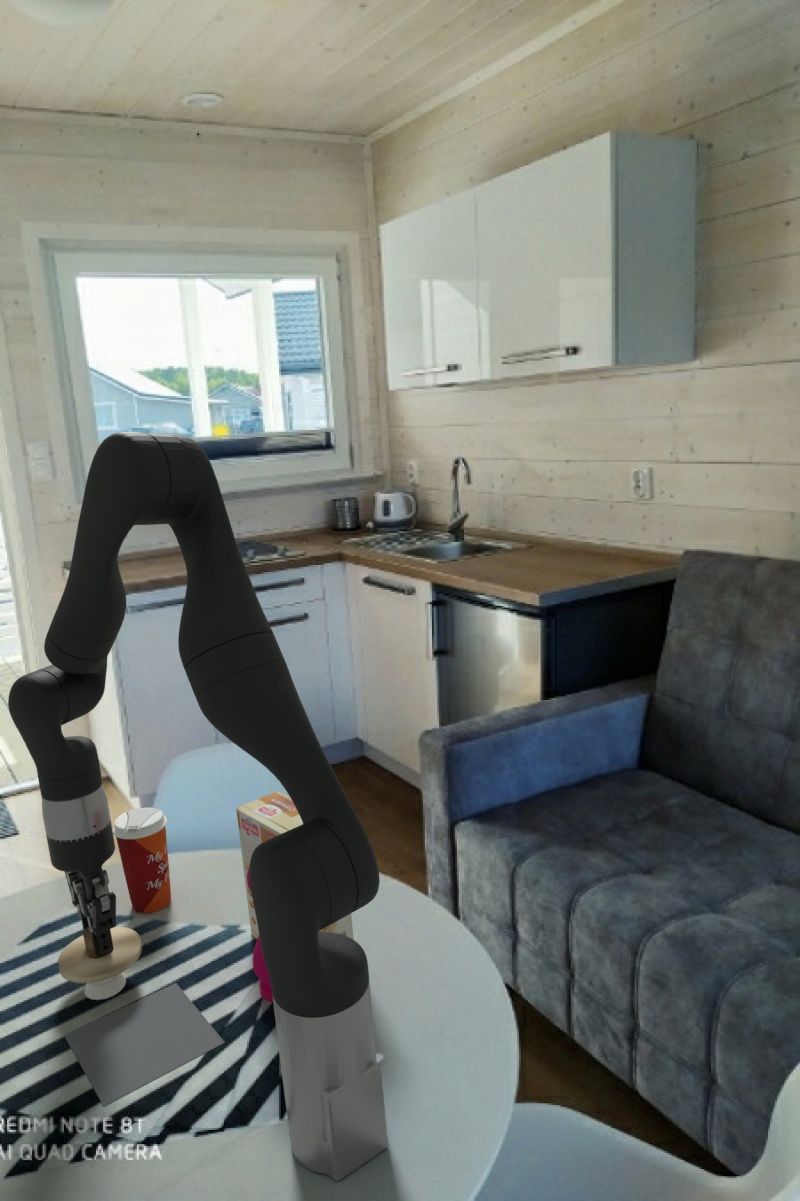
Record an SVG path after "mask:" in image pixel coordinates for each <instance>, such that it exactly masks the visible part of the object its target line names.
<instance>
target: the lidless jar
mask: <svg viewBox="0 0 800 1201" xmlns="http://www.w3.org/2000/svg"><path fill="white" fill-rule="evenodd" d="M126 982H127V980H126V978H125V975H123V973H120V974H118V975H116V976H114V977H112V978H109V979H106V980H103V981H99V982H94V983H85V984H86V985H85V988H84V996H85V997H86V998H88V999H90V1000H96V1001H99V1000H106V999H109V998H111V997H114V996H115V995H117V994H118V993H120V992H121V991H122V990H123V989H124V987H125V986H126Z"/></svg>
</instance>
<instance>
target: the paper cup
mask: <svg viewBox="0 0 800 1201" xmlns="http://www.w3.org/2000/svg"><path fill="white" fill-rule="evenodd" d="M113 824H114V826H113V827H112V830H113V836H114V837H115V838H116V843H117V846H118V851H119V856H120V860H121V864H122V868H123V874H124V877H125V878H124V879H125V882H126V883H125V884H126V886H127V887H126V888H127V891H128V895H129V899H130V902H131V906H132V910H133V911H134V912H135V913H137V914H140V915H149V914H150V915H151V914H156V913H158V912H161V911H162V910H164V909H166V908H167V907H168V906H169V905H170V904H171V901H172V891H171V890H172V888H171V878H170V876H171V875H170V864H169V855H168V854H169V852H168V844H167V843H168V842H167V840H168V839H167V829H166V827H167V826H166V825H167V824H168V819H167V817H166V816H165V815H164V813H163V811H162V810H161V809H159V808H155V807H138V808H134V809H132V810H128V811H126V812H123V813H122V814H120V815H119V816H117V818H116V819H115V821H114V823H113Z"/></svg>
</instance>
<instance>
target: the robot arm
mask: <svg viewBox="0 0 800 1201" xmlns="http://www.w3.org/2000/svg"><path fill="white" fill-rule="evenodd" d="M83 492H84V493H83V498H82V503H81V509H80V513H79V518H78V523H77V528H76V534H75V540H74V546H73V551H72V558H71V562H70V567H69V573H68V575H67V579H66V584H65V585H64V586H65V587H64V589H63V592H62V595H61V598H60V600H59V602H58V605H57V608H56V610H55V612H54V614H53V617H52V620H51V622H50V625H49V628H48V630H47V633H46V636H45V639H44V645H43V648H44V654H45V656H46V658H47V661H49V663H50V664H51V665H47V666H46V667H43V668H40V669H38V670H35V671H31V672H28V673H26V674H24V675H22V676H21V677H18V678H17V679H16V680H15V681H14V682H13V684H12V686H11V687H10V690H9V693H8V697H7V698H8V700H7V702H8V703H7V704H8V711H9V715H10V717H11V720H12V722H13V724H14V726H15V728H16V730H17V731H18V732H19V735H20V737H21V738H22V740H23V742H24V743H25V747H26V748H27V750H28V752H29V754H30V756H31V758H32V760H33V762H34V764H35V768H36V773H37V778H38V780H37V781H38V783H39V784H38V786H39V790H40V796H41V812H42V819H43V826H44V831H45V837H46V842H47V846H48V848H47V849H48V852H49V857H50V858H49V859H50V863H51V866H52V867H53V868H54V869H56V870H57V871H60V872H63V873H64V875H65V879H66V882H67V886H68V890H69V892H70V896H71V900H72V901H71V902H72V905H73V907H75V908H76V909H77V911H76V914H77V915H78V916H79V918H80V919H81V925H82V932H83V931H84V929H85V928H86V927H88V926H89V930H90V932H91V938H92V943H93V949H94V954H95V955H96V957H98V958H100V957H103V956H105V955H107V954H109V953H111V952H112V951H113V942H112V936H111V931H110V929H111V928H114V927H117V896H116V894H115V892H114V891H111V892H110V890H109V884H110V879H109V874H108V872H107V870H106V869H103V865H104V864H105V863H106V862H107V861H108V860H109V859H111V857H112V856H113V855H114V853H115V850H116V844H115V843H116V842H115V838H114V837H115V836H114V834H113V825H112V820H111V814H110V812H111V811H110V806H109V801H108V797H107V793H106V791H105V788H104V783H103V777H102V771H101V765H100V760H99V759H100V757H99V754H98V750H97V746H96V744H95V743H94V742H93V740H92V739H90V737H86V736H84V735H72V736H64V733H63V731H62V726H64V725H66V724H68V723H70V722H72V721H74V720H77V719H79V718H81V717H84V716H85V715H87V714H89V713H91V711H93V710H94V709H95V708H96V707H97V706H98V705H99V703H100V701H101V700H102V698H103V696H104V693H105V690H106V682H107V681H106V679H107V670H108V656H109V654H110V652H111V650H112V647H113V646H114V644H115V642H116V640H117V636H119V635H118V634H119V633H120V631H121V629H122V625H123V623H124V620H125V616H126V611H127V595H126V594H127V593H126V588H125V586H124V582H123V581H124V580H123V578H122V575H121V570H120V567H119V553H120V550H121V547H122V545H123V542H124V541H125V540H126V537H127V535H128V534H129V532H130V531H131V530H132V528H133V527H134V526H149V525H150V526H154V525H168V526H169V527H170V528H171V530H172V532H173V534H174V536H175V538H176V541H177V543H178V545H179V549H180V552H181V555H182V558H183V560H184V565H185V568H186V590H185V596H184V599H183V600H184V602H183V606H182V610H181V614H180V622H179V628H178V639H177V640H178V641H177V642H178V653H179V658H180V661H181V663H182V664H181V665H182V666H183V669H184V670H185V671H184V672H185V674H186V677H187V679H188V682H189V684H190V686H191V689H192V692H193V695H194V697H195V700H196V702H197V704H198V706H199V708H200V710H201V713H202V714H203V716H204V717H205V718H206V720H207V721H208V722H209V723H210V724H211V725H212V726H213V727H214V728H215V729H216V730H217V731H218V732H219V733H221V734H222V735H223V736H224V737H225V738H227V739H228V740H229V741H230V742H232V743H233V744H234V745H236V746H237V747H238V748H240V749H241V750H242V751H244V752H245V753H246V754H248V755H249V756H250V757H252V758H253V759H255V760H256V761H258V763H260V764H261V765H262V766H264V767H265V768H266V769H267V770H268V771H269V772H270V773H271V774H272V775H273V776H274V777H275V778H276V779H277V781H279V783H280V785H281V786H282V787H283V788H284V790H285V791H286V794H288V797H290V798H291V800H292V801H293V803H294V805H295V807H296V809H297V811H298V813H299V815H300V817H301V819H302V822H303V824H302V825H300V826H298V827H296V828H293V829H291V830H289V831H287V832H284V833H282V834H280V835H278V836H275V837H273V838H271V839H269V840H267V841H265V842H263V843H261V844H260V845H258V846H257V847H256V848H255V850H254V851H253V853H252V856H251V860H250V867H249V877H250V887H251V893H252V899H253V904H254V909H255V914H256V919H257V924H258V930H259V936H260V942H261V948H262V954H263V958H264V962H265V965H266V968H267V972H268V975H269V978H270V981H271V987H272V994H273V1011H274V1018H275V1026H276V1034H277V1035H276V1036H277V1044H278V1053H279V1060H280V1069H281V1075H282V1084H283V1085H282V1086H283V1093H284V1100H285V1107H286V1108H285V1110H286V1116H287V1117H286V1118H287V1124H288V1130H289V1131H288V1132H289V1140H290V1147H291V1151H292V1153H293V1155H294V1157H295V1159H296V1160H297V1162H299V1164H301V1165H302V1166H303V1167H304V1168H306V1169H307V1170H309V1171H312V1172H315V1173H319V1174H324V1175H328V1176H329V1177H331V1179H333V1181H334V1182H338V1181H341V1180H342V1179H344V1178H345V1177H347V1176H348V1175H349V1174H351V1173H352V1172H354V1171H356V1170H357V1169H358V1168H359V1167H361V1166H363V1165H364V1164H365V1163H367V1162H368V1161H370V1160H371V1159H373V1158H374V1157H376V1156H378V1154H380V1153H382V1152H383V1151H384V1150H386V1149H388V1147H389V1141H388V1129H387V1119H386V1107H385V1096H384V1095H385V1094H384V1085H383V1075H382V1066H381V1064H379V1062H378V1060H377V1050H376V1041H375V1029H374V1018H373V1007H372V1006H373V1005H372V997H371V996H372V995H371V994H372V993H371V984H370V974H369V973H370V972H369V963H368V958H367V954H366V952H365V950H364V948H363V947H362V945H360V943H358V942H357V941H356V940H355V939H354V938H353V939H354V940H353V939H351V938H349V937H347V936H345V935H341V934H337V933H331V932H319V931H320V930H322V929H324V928H325V927H327V926H329V925H331V924H333V923H335V922H336V921H338V920H340V919H342V918H344V917H346V916H347V915H349V914H351V915H352V914H353V913H354V912H356V911H358V910H360V909H361V908H363V907H365V906H366V905H367V906H368V904H369V903H370V902H372V901H373V900H375V897H376V896H377V895H378V892H379V888H380V871H379V870H380V869H379V866H378V861H377V857H376V854H375V852H374V849H373V846H372V844H371V841H370V839H369V836H368V835H367V832H366V830H365V828H364V825H363V824H362V822H361V821H360V820H361V819H359V817H358V814H357V812H356V810H355V808H354V807H353V805H352V803H351V801H350V800H349V799H350V798H349V797H348V795H347V794H346V792H345V790H344V788H343V787H342V784H341V783H340V780H339V779H338V777H337V775H336V773H335V772H334V769H333V768H332V765H331V764H330V762H329V759H328V758H327V756H326V754H325V752H324V750H323V748H322V745H321V744H320V742H319V739H318V737H317V735H316V732H315V731H314V728H313V726H312V724H311V721H310V718H309V717H308V714H307V712H306V710H305V707H304V705H303V703H302V700H301V699H300V696H299V694H298V691H297V688H296V686H295V683H294V681H293V678H292V676H291V673H290V670H289V667H288V664H287V662H286V660H285V657H284V654H283V652H282V651H281V650H282V649H281V648H280V645H279V644H278V641H277V638H276V636H275V633H274V631H273V629H272V627H271V625H270V623H269V621H268V618H267V617H266V614H265V612H264V610H263V608H262V606H261V603H260V600H259V599H258V596H257V594H256V590H255V588H254V585H253V583H252V580H251V578H250V576H249V572H248V570H247V568H246V565H245V562H244V559H243V557H242V555H241V552H240V549H239V546H238V542H237V540H236V537H235V533H234V531H233V528H232V525H231V522H230V518H229V515H228V512H227V509H226V505H225V502H224V498H223V494H222V491H221V489H220V485H219V481H218V479H217V475H216V473H215V471H214V467H213V465H212V462H211V461H210V459H209V456H208V454H207V453H206V452H205V450H204V449H203V448H202V446H201V445H200V444H199V443H198V442H197V441H195V440H194V439H193V438H191V437H189V436H186V435H181V434H175V433H158V432H157V433H156V432H142V431H140V432H139V431H121V432H116V433H112V434H110V435H108V436H107V437H105V439H103V440H102V442H101V443H100V444H99V446H98V447H97V449H96V451H95V453H94V455H93V458H92V461H91V463H90V467H89V470H88V473H87V478H86V482H85V488H84V491H83Z"/></svg>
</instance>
